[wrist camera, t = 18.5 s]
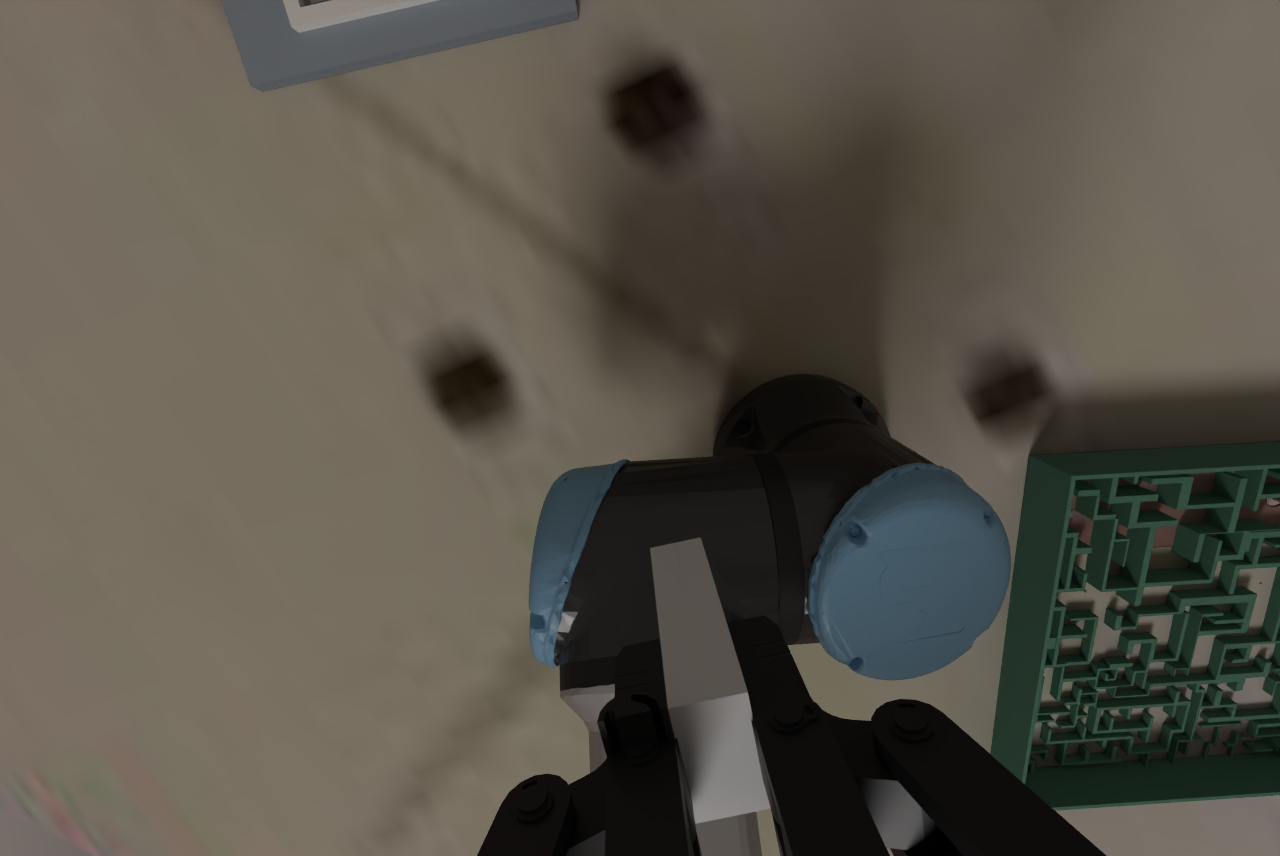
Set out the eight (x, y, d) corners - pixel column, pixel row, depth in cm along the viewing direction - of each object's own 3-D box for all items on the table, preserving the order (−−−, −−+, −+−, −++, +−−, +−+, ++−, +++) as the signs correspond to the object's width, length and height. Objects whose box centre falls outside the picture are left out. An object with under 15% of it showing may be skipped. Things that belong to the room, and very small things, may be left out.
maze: (981, 764, 64) (1016, 813, 58) (1025, 453, 54) (1072, 476, 48) (1301, 742, 65) (1366, 789, 59) (1401, 432, 55) (1490, 452, 49)
